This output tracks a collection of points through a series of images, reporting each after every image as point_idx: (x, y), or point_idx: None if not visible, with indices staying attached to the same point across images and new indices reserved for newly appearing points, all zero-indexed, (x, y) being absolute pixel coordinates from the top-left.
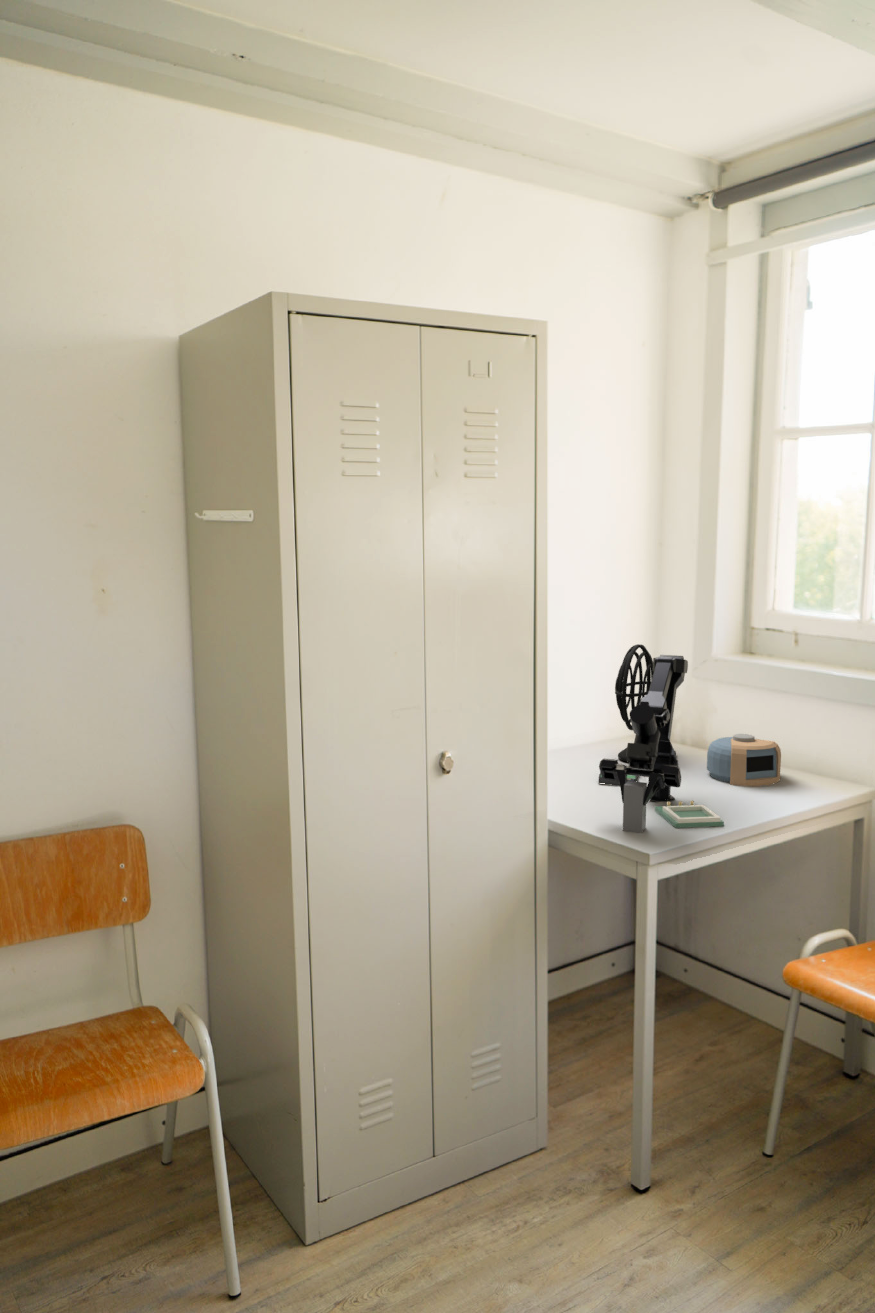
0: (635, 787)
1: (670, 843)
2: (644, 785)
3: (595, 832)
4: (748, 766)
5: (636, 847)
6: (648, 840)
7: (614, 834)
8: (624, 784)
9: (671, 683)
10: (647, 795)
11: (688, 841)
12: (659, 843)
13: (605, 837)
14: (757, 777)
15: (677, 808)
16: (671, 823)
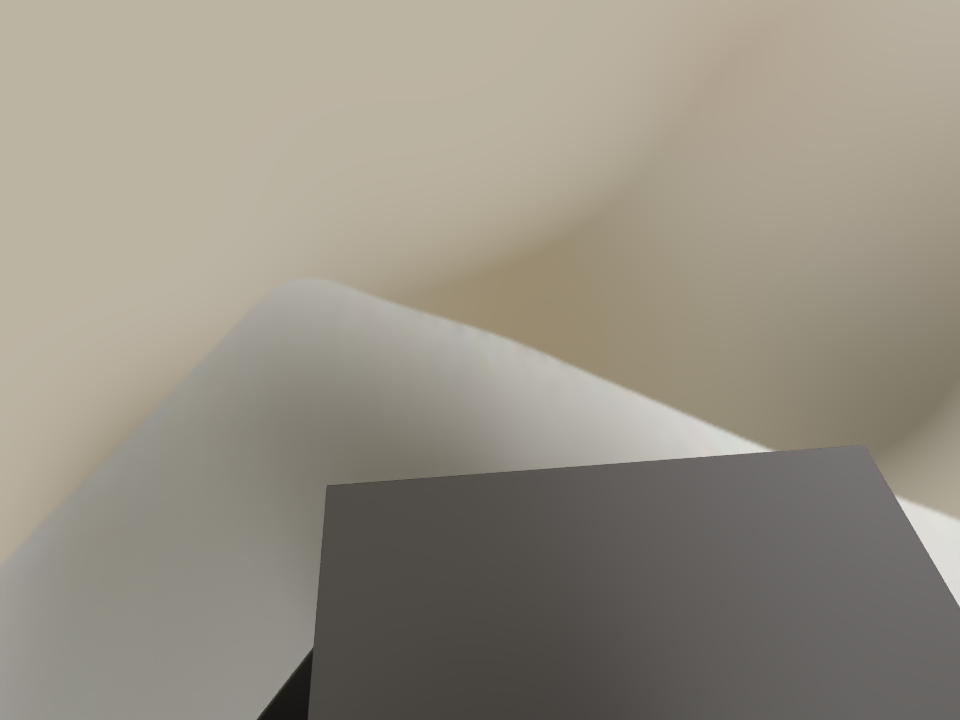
0: (550, 476)
1: (173, 461)
2: (309, 717)
3: (691, 443)
4: None
5: (379, 309)
6: (332, 451)
7: (574, 463)
8: (884, 485)
9: None
10: (288, 695)
11: (9, 578)
12: (252, 426)
13: (592, 384)
14: None
15: None
16: None
